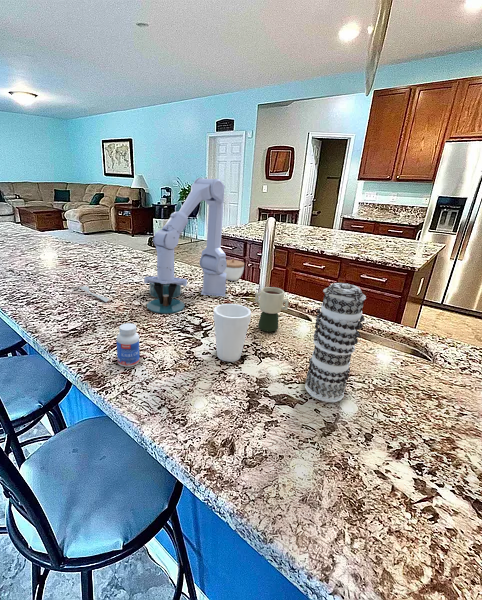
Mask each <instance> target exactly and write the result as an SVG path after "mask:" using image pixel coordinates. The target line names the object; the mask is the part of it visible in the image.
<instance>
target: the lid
mask: <svg viewBox="0 0 482 600" xmlns="http://www.w3.org/2000/svg"><path fill="white" fill-rule="evenodd" d="M168 302H169V295H167V294H165V295H163V296H162V304H160V301H159V298H156V299H151V300H150V301H148V302H147V304H146V308H147V309H148V310H149V311H150V312H152V313H157V314H167V315H168V314H175V313H178V312H181V311H183V310H184V309H185V303H184V302H183V301H182V300H179V299H176V298H172V303H171V305H169V303H168Z"/></svg>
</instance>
